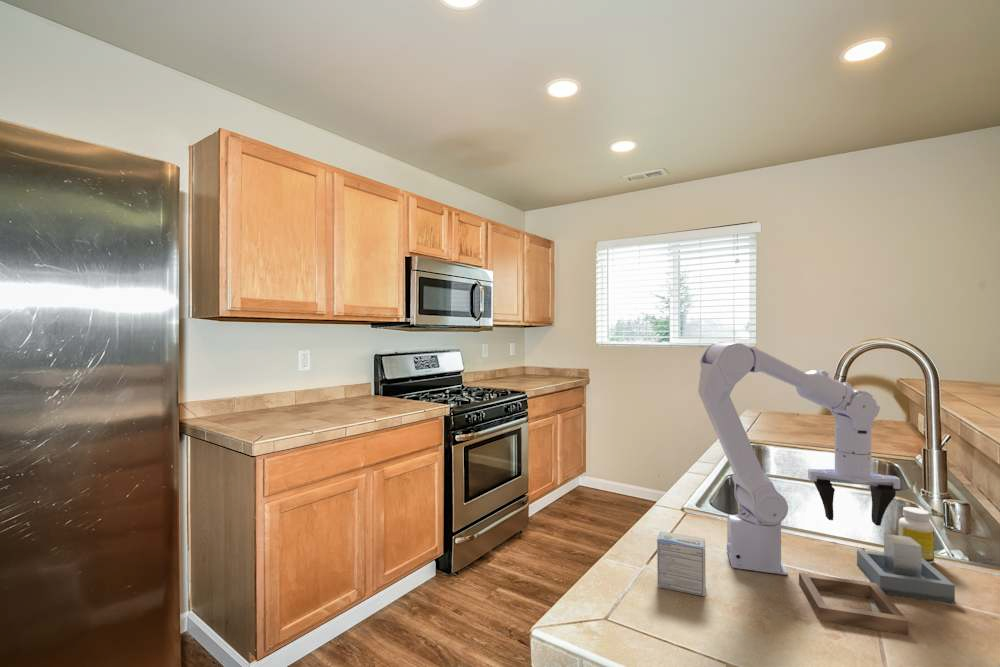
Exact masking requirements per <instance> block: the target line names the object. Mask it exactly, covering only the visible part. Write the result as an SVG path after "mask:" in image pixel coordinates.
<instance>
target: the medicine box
mask: <svg viewBox="0 0 1000 667" xmlns="http://www.w3.org/2000/svg"><path fill="white" fill-rule="evenodd" d="M656 546H657V548H656V556H657V557H656V558H657V559H656V561H657V562H656V564H657V566H656V568H657V570H656V571H657V573H656V574H657V575H656V576H657V578H656V579H657V580H656V583H657V584H656V585H657V588H660V589H665V590H671V591H676V592H681V593H686V594H692V595H695V596H701V597H706V583H707V581H706V539H705V538H704V537H700V536H694V535H687V534H682V533H675V532H668V531H663V530H662V531H659V534H658V537H657V539H656Z"/></svg>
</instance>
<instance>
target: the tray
mask: <svg viewBox="0 0 1000 667" xmlns="http://www.w3.org/2000/svg"><path fill="white" fill-rule="evenodd" d="M921 560H922V578H918V577H910V576H903V575H895V574H887V573H885V572H884V552H878V551H869V550H861V549H857V550H856V566H857V567H858V568H859V570H861V572H863V574H864V575H865V577H866V578H867V579H868V580H869V582H872V583H876V584H877V585H878V586H879V587H880V589H881V590H882V591H883V592H884V593H885V594H886V595H894V596H900V597H907V598H908V597H909V598H916V599H923V600H931V601H936V602H944V603H950V604H956V601H955V600H956V599H955V598H956V594H955V591H956V590H955V589H956V586H955V584H954V583H953V582H951V581H950V579H948V578H947V577H945V575H943V574H942V573H941V572H940V571H939V570H938V569H937V568H935V567H934V566H933V564H929V563H928V562H927V561H926V560H925V559H923V558H921Z"/></svg>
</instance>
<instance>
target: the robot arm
mask: <svg viewBox="0 0 1000 667" xmlns="http://www.w3.org/2000/svg"><path fill="white" fill-rule="evenodd" d="M699 364H700V374H699V383H698V395H699V397H700V399H701V402H702V403H703V406H704V409H705V411H706V413H707V416H708V417H709V420H710V422H711V424H712V427H713V429H714V431H715V433H716V436H717V438H718V440H719V443H720V445H721V447H722V449H723V452H724V454H725V456H726V459H727V461H728V463H729V466H730V467H731V469H732V473H733V474H732V477H731V479H732V482H733V484H734V491H733V492H734V494H733V495H734V499H735V501H736V502H737V503H738V504H739V506H740V508H739V512H738V514H727V519H726V520H727V521H726V522H727V523H726V524H727V525H726V526H727V527H726V530H727V532H726V534H727V537H726V538H727V539H726V541H727V543H726V552H727V554H728V559H729V562H730V566H731V567H732V568H735V569H740V570H748V571H755V572H760V573H762V572H763V573H769V574H775V575H782V576H783V575H785V576H787V575H788V570H787V568H786V566H785V565H784V563H783V561H782V522H783V521H784V519H785V518H786V517H787V515H788V512H789V505H788V502H787V500H786V498H785V496H783V495H782V494H781V493H780V492H778V491H777V489H776V487H775V485H774V484H773V482H772V480H771V479H770V477H768V475H767V474H766V473H765V472H764V470H763V467H762V466H761V463H760V462H759V459H758V457H757V454H756V452H755V450H754V447H753V446H752V443H751V441H750V439H749V437H748V435H747V432H746V430H745V427H744V425H743V423H742V421H741V418H740V416H739V414H738V412H737V409H736V407H735V405H734V403H733V400H732V399H731V393H732V391H733V389H734V388H735V386H736V385H737V383H739V382H740V381H742V379H743V378H744V377H746V375H747V374H748V373H749V372H750V373H759V372H760V373H763V374H765V375H767V376H770V377H772V378H774V379H777V380H779V381H780V382H784V383H786V384H789V385H791V386H793V387H795V388H796V392H797V394H798V395H799V397H800V398H801V397H802V398H804V399H806V400H808V401H810V402H813V403H815V404H817V405H819V406H820V407H823V408H825V409H827V410H829V411H830V412H831V413H832V415H834V468H831V469H830V468H829V469H828V468H827V469H824V468H821V469H819V468H817V469H816V468H813V469H812V468H808V469H807V478H808V480H809V481H810V482H813V484H814V485H815V488H816V489H817V491H818V494H819V496H820V499H821V502H822V505H823V510H824V514H825V517H826V519H828V520H829V521H834V498H835V497H834V496H835V490H836V489H835V488H834V487H833V484H832V483H839V484H850V485H860V486H861V485H863V486H869V488H870V495H871V522H872V523H873V524H874V525H876V527H877V526H878V527H881V525H882V522H883V521H882V520H883V518H884V516H885V515H884V514H885V513H886V510H887V509H888V507H889V505H890V504H891V503H892V501H893V500H894V499H895V498H896V494H897V493H896V490H901V478H900V477H898V476H896V475H888V474H880V473H875V472H872V429H873V428H874V421H875V418H877V416H878V415H879V413H880V409H881V406H880V405H877V400H876V398H874V395H872V394H871V393H869V392H867V391H864V390H859V389H853V388H852V384H850V383H849V382H845V381H844V382H841V381H839V380H837V379H835V378H832V377H830V376H829V372H827V371H825V370H822V369H821V370H820V369H819V370H818V371H817V370H809V371H806V372H804V371H802V370H800V369H798V368H796V367H794V366H792V365H790V364H788V363H787V362H785V361H782V360H781V359H778V358H776V357H775V356H773V355H771V354H769V353H767V352H765V351H762V350H759V349H757V348H754V347H752V346H751V347H749V346H747V345H746V344H743V343H742V342H741V343H740V342H733V343H727V342H721V341H717V342H714V343H711V344H710V345H709V346H707V348H706V349H705V351H704V353H703V354H702V355H701V358H700V359H699Z"/></svg>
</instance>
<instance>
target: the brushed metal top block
mask: <svg viewBox="0 0 1000 667" xmlns="http://www.w3.org/2000/svg"><path fill="white" fill-rule="evenodd" d="M883 553H884V572H885V573H887V574H895V575H903V576H910V577H918V578H922V560H921V545H919V544H918V543H917V542H916V541H915V540H913V539H912V538H911V537H906V536H899V535H897V534H896V535H895V534H886V533H884V534H883Z"/></svg>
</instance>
